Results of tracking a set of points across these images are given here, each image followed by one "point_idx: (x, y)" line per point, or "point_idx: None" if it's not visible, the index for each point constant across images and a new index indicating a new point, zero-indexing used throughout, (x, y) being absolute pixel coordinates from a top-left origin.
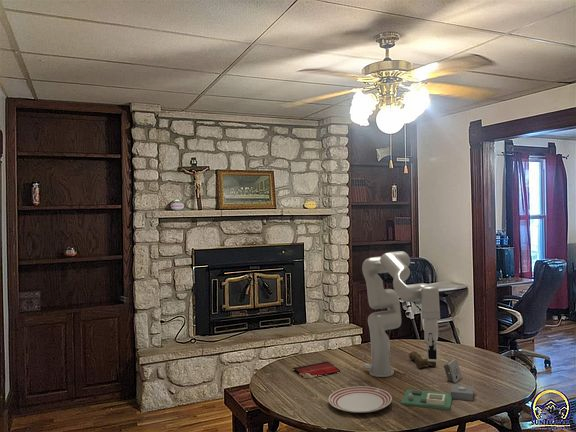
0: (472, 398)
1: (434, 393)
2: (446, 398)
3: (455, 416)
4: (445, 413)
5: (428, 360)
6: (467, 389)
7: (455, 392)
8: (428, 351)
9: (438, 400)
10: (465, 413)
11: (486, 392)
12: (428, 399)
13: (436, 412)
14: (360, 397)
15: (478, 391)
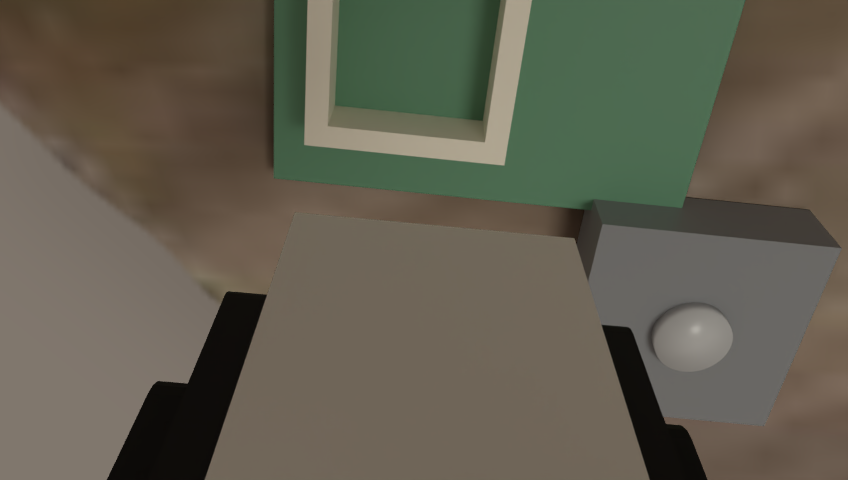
0: None
1: (679, 23)
2: (524, 154)
3: (140, 206)
4: (179, 121)
5: (292, 240)
6: (676, 377)
7: (591, 268)
8: (158, 469)
9: (307, 85)
10: (238, 288)
11: (754, 467)
12: None
13: (173, 31)
14: None
15: (783, 418)
